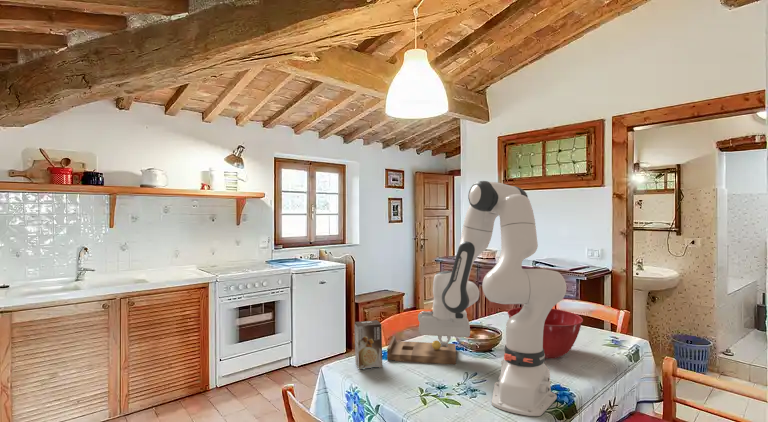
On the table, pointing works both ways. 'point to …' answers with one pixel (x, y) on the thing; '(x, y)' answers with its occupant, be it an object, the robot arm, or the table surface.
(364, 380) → the table surface
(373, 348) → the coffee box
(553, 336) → the mixing bowl
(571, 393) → the table surface
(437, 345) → the ball
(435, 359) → the tray
